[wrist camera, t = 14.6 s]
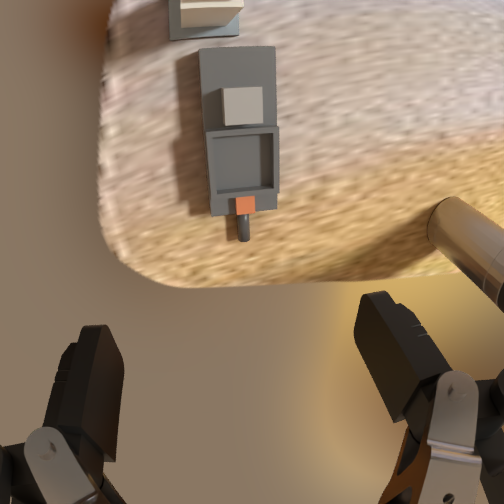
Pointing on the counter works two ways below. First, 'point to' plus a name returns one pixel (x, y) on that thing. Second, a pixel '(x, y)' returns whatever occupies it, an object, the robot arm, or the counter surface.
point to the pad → (197, 32)
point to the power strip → (240, 130)
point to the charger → (209, 12)
